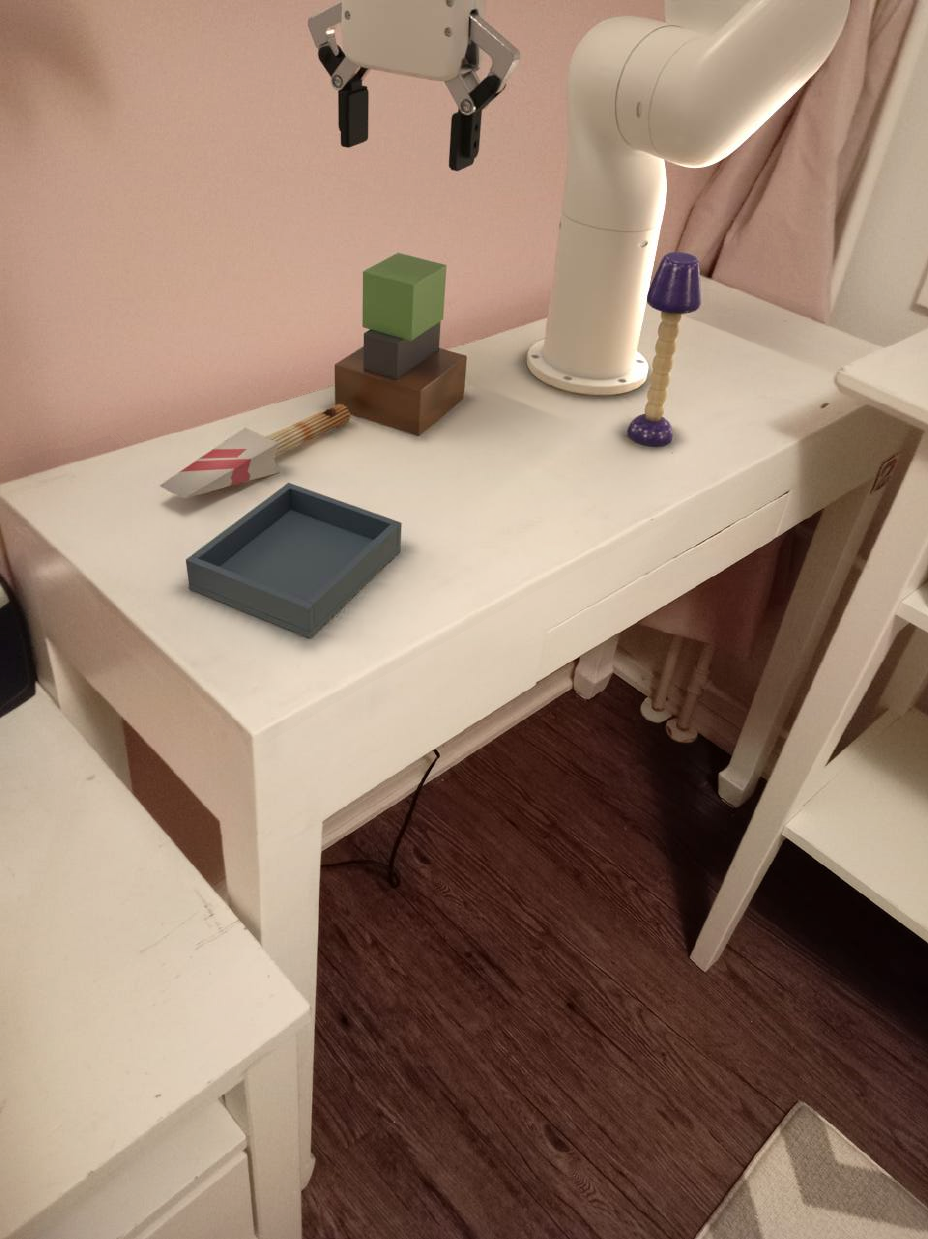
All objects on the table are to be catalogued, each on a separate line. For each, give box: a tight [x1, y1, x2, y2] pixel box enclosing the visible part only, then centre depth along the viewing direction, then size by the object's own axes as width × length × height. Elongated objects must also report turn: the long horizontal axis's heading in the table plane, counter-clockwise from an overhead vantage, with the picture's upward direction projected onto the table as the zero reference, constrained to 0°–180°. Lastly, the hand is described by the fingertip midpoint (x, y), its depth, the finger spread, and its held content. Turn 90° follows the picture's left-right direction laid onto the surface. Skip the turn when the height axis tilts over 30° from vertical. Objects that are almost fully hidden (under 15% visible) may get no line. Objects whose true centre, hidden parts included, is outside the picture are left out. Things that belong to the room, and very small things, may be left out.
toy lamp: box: [626, 251, 702, 447], centre depth 87 cm, size 5×5×17 cm
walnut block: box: [334, 345, 468, 437], centre depth 92 cm, size 9×9×4 cm
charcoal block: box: [363, 320, 442, 380], centre depth 89 cm, size 8×4×4 cm, turn 153°
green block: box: [361, 252, 447, 341], centre depth 86 cm, size 6×5×5 cm
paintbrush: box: [159, 404, 351, 499], centre depth 82 cm, size 4×3×20 cm
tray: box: [185, 482, 402, 639], centre depth 71 cm, size 12×10×3 cm
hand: (407, 155), depth 77 cm, fingers open, 9 cm apart
